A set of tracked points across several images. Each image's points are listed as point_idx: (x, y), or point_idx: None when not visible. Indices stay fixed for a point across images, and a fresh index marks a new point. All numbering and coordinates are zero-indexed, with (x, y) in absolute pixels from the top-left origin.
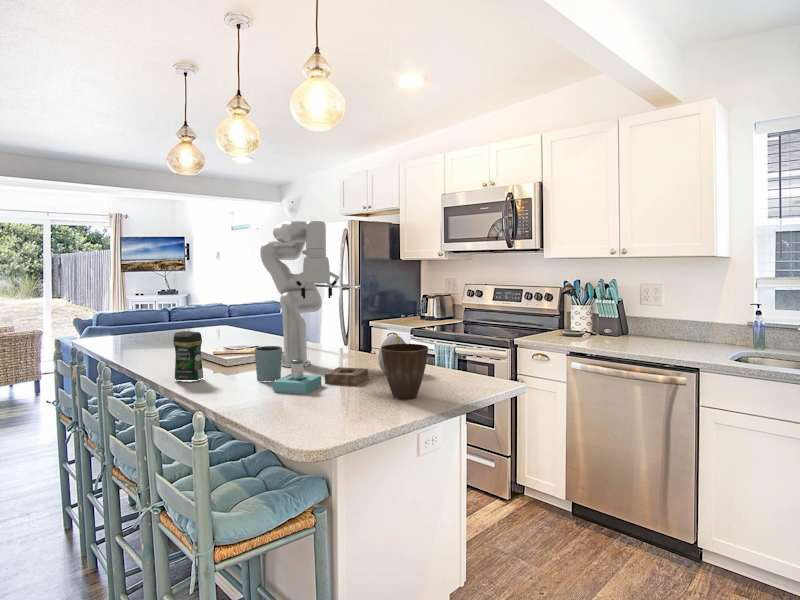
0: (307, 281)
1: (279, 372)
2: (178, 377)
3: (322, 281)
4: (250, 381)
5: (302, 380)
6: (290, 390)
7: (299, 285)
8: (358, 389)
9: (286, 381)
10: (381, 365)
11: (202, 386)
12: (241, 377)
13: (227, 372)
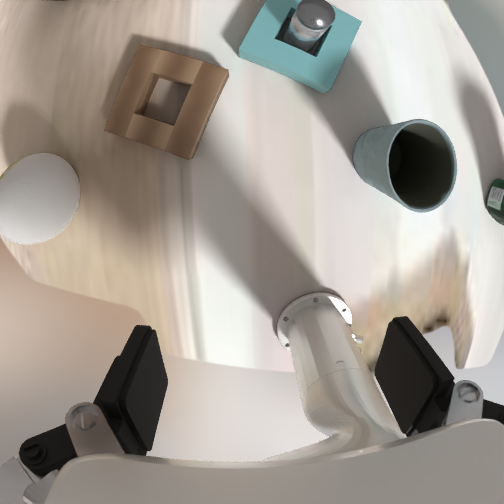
0: (468, 435)
1: (362, 144)
2: None
3: (177, 480)
4: None
5: (288, 9)
6: None
7: (485, 403)
8: (147, 18)
9: None
10: (71, 171)
11: (482, 140)
12: None
13: (451, 263)
